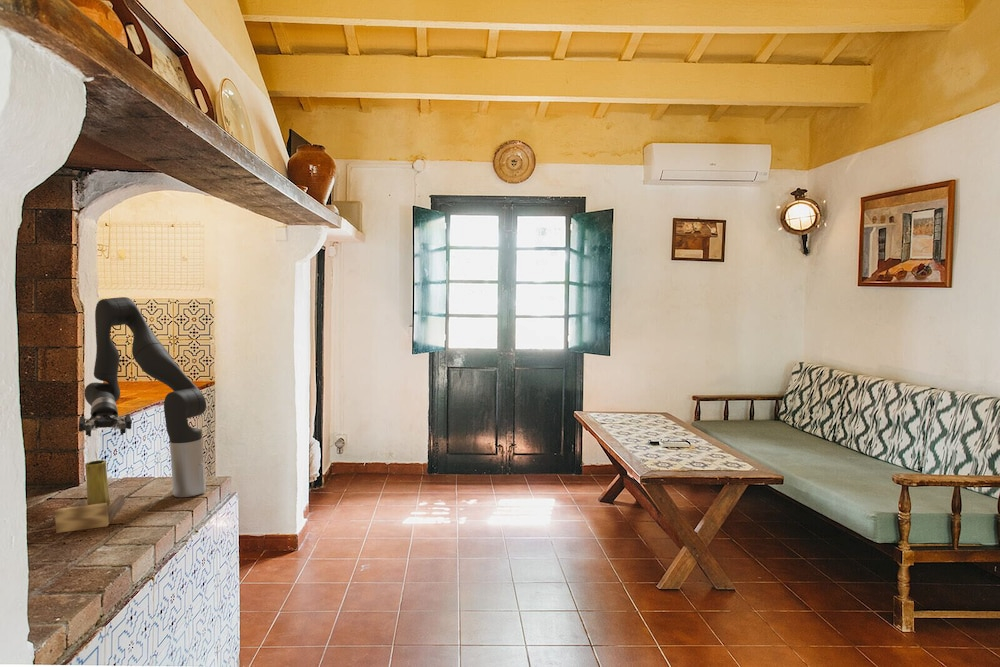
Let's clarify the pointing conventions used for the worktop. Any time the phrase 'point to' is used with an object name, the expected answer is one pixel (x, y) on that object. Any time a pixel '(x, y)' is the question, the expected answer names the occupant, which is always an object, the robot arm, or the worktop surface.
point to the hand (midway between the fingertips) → (106, 432)
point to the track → (86, 515)
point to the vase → (97, 483)
